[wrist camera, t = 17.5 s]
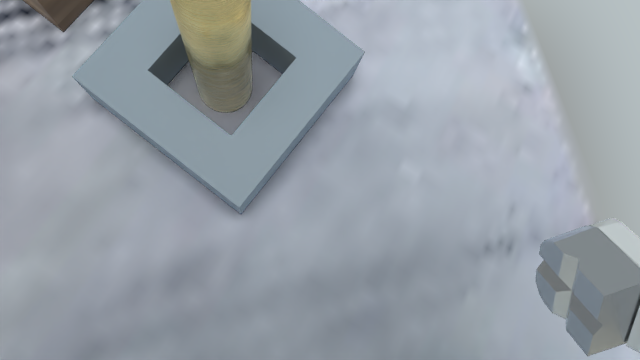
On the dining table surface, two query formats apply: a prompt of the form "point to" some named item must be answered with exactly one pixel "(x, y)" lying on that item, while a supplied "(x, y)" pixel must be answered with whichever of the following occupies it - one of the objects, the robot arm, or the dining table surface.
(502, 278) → the dining table surface
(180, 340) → the dining table surface
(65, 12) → the walnut bore block
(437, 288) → the dining table surface
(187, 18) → the brass peg
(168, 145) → the slate socket block
